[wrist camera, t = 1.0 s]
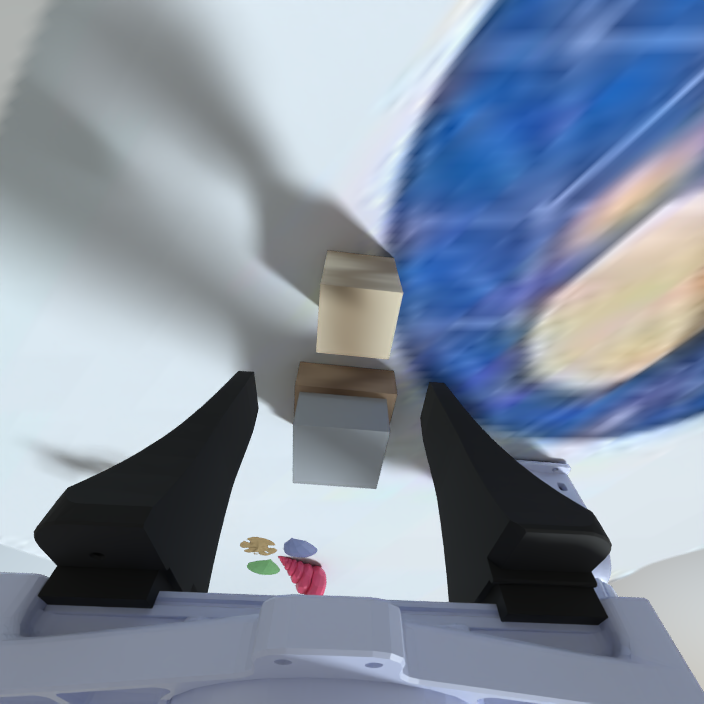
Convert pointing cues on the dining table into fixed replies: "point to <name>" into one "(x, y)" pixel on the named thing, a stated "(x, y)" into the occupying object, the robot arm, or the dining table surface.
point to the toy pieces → (289, 564)
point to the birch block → (358, 305)
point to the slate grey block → (339, 440)
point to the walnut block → (346, 382)
